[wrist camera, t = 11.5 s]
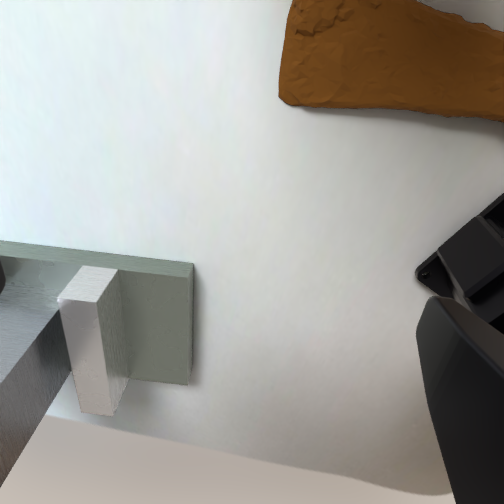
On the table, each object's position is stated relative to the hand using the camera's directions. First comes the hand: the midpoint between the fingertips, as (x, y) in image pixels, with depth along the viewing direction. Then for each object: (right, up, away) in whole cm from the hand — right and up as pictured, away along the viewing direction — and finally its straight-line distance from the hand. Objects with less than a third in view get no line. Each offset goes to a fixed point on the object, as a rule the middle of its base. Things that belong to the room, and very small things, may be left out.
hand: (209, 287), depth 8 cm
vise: (-12, -3, +18) cm, 22 cm away
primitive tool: (+11, +8, +10) cm, 17 cm away
